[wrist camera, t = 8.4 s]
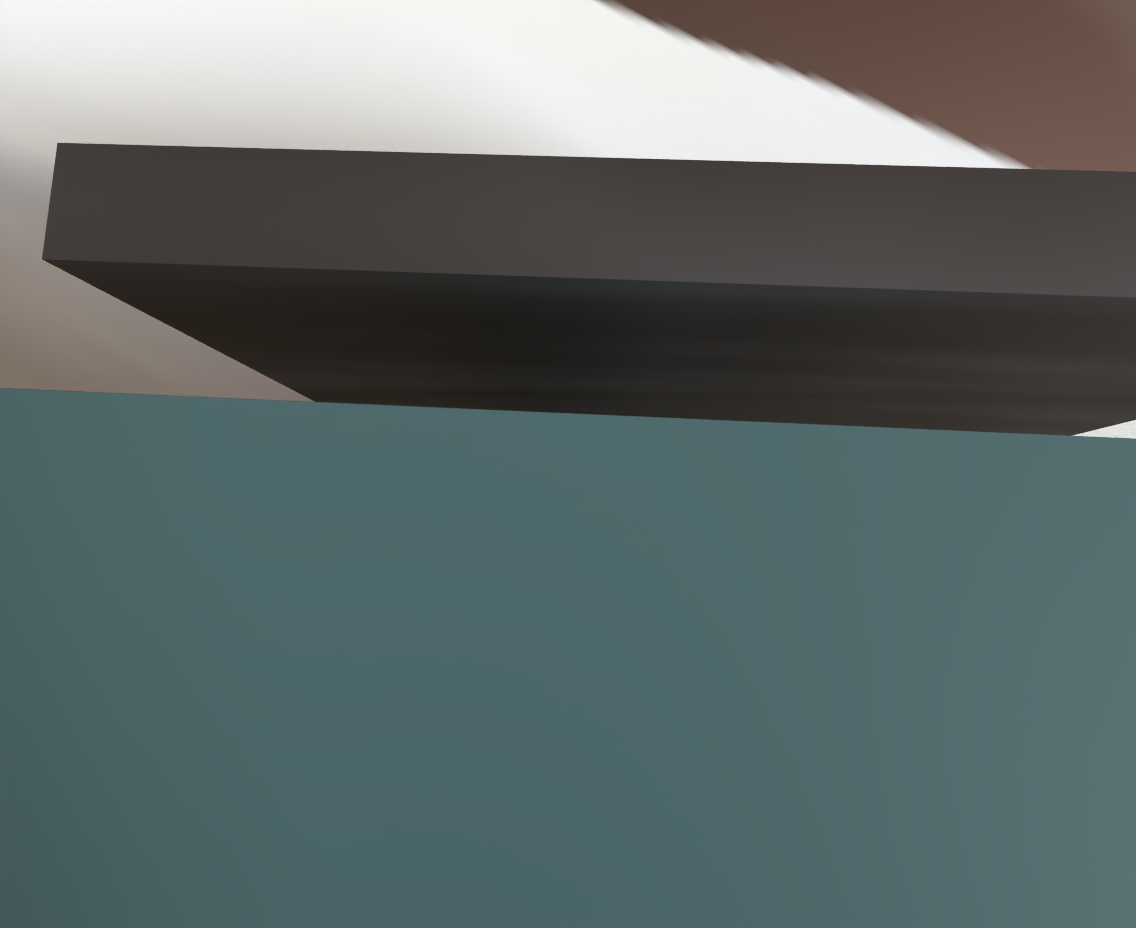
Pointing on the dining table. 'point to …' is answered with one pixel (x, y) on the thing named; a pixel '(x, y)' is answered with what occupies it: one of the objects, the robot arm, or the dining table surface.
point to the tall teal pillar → (558, 670)
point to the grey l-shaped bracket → (628, 281)
